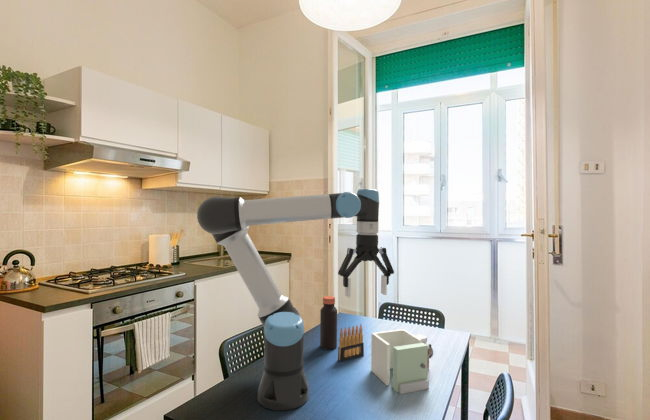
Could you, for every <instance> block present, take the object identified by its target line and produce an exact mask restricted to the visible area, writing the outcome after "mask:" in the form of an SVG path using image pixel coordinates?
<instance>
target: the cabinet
mask: <svg viewBox="0 0 650 420" xmlns="http://www.w3.org/2000/svg"><path fill="white" fill-rule="evenodd" d="M415 335H416V334H413V333H411V332H409V331H408V330H406V329H404V328H403V329H402V328H401V329H394V330H385V331H379V332H378V331H377V332H371V342H370V343H371V348H370V349H371V350H370V351H371V354H370V355H371V361H370V371H371V372H372V373H373V374H374V375H375V376H376V377H377V378H378V379H379V380H381V382H382V383H383V384H385V386H390V384H391V386H392V387H393V377H391V369H392V370H393V347H396V346H403V345H410V344H417V343H422V340H421V339H420V338H418V337H416V336H415ZM390 382H391V383H390ZM429 382H430V381H429V380H428V378H427V379H425V380H420V381H415V382H409V383H404V384H399V392H398V393H399V394H401V395H404V394H409V393H413V392H419V391H425V390H428V389H430V388H429V387H430V383H429Z"/></svg>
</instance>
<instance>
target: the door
mask: <svg viewBox="0 0 650 420" xmlns="http://www.w3.org/2000/svg"><path fill="white" fill-rule="evenodd" d="M427 363H428V345H426V344H424V343H417V344H410V345H403V346H396V347H393V368H392V378H393V386H392V389H393V390H394V391H395V392H396V393H399V384H404V383H409V382H415V381H420V380H425V379H427V380H428V370H427Z"/></svg>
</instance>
